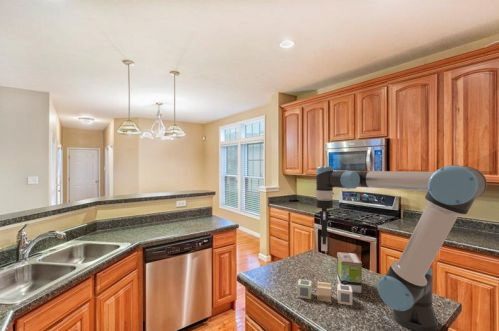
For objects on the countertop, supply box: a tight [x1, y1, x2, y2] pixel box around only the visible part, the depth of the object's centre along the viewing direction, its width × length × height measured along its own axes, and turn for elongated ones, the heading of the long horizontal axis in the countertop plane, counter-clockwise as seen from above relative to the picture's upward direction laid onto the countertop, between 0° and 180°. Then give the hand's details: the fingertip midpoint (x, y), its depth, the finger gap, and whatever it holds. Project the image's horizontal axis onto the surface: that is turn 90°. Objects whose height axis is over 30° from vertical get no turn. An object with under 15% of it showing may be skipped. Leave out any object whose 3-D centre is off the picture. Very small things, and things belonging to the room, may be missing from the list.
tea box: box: [336, 251, 363, 294], centre depth 131 cm, size 15×10×15 cm, turn 168°
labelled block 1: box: [297, 278, 313, 300], centre depth 120 cm, size 6×6×6 cm
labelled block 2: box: [336, 283, 353, 306], centre depth 115 cm, size 6×6×6 cm
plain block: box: [316, 281, 332, 303], centre depth 118 cm, size 6×6×6 cm
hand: (324, 249), depth 118 cm, fingers open, 3 cm apart
